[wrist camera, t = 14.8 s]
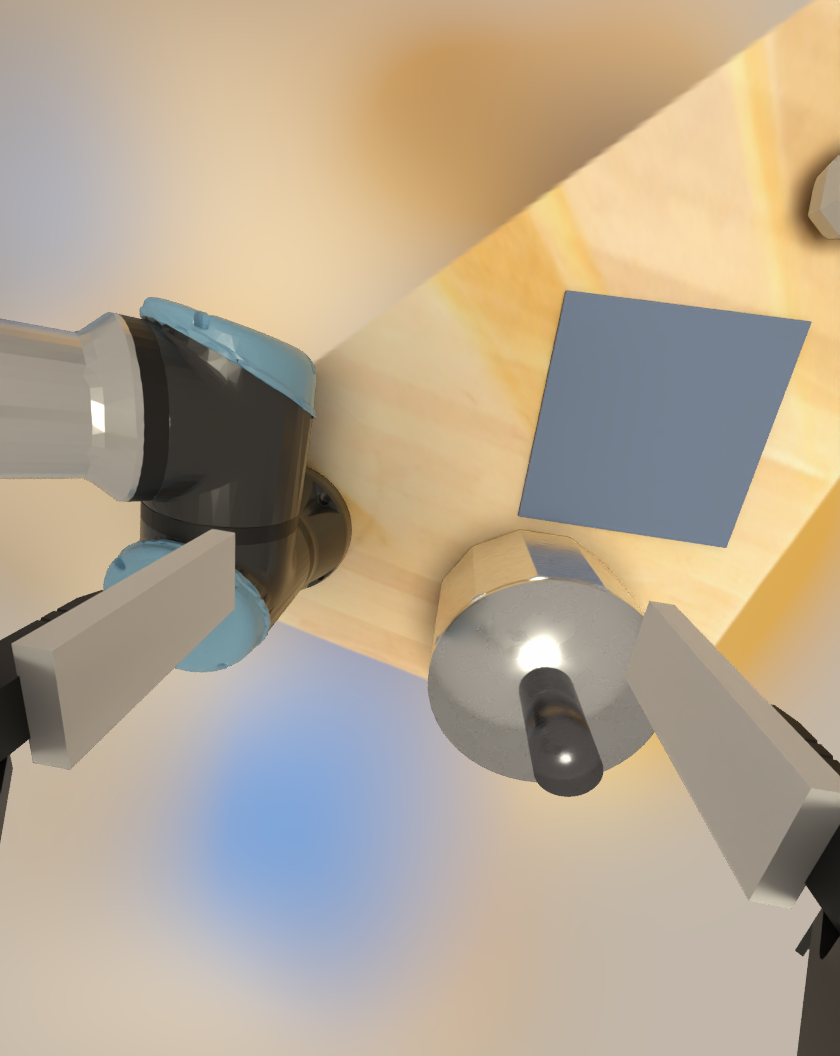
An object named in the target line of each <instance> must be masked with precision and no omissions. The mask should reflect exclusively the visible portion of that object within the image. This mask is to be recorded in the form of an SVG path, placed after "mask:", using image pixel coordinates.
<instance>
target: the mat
mask: <svg viewBox="0 0 840 1056" xmlns="http://www.w3.org/2000/svg"><path fill="white" fill-rule="evenodd" d="M810 325H811V322H810V321H802V320H794V319H786V318H779V317H771V316H763V315H755V314H747V313H739V312H732V311H724V310H716V309H708V308H700V307H692V306H685V305H677V304H669V303H661V302H653V301H646V300H638V299H630V298H622V297H614V296H606V295H599V294H591V293H583V292H575V291H566V292H565V296H564V301H563V305H562V310H561V315H560V319H559V324H558V329H557V334H556V338H555V343H554V348H553V353H552V357H551V362H550V367H549V371H548V376H547V381H546V386H545V390H544V395H543V400H542V404H541V409H540V414H539V419H538V423H537V428H536V433H535V438H534V442H533V447H532V452H531V456H530V461H529V466H528V471H527V475H526V480H525V485H524V490H523V494H522V499H521V504H520V508H519V513H518V516H520V517H526V518H533V519H539V520H546V521H553V522H559V523H566V524H572V525H579V526H585V527H592V528H599V529H605V530H612V531H618V532H625V533H631V534H638V535H645V536H651V537H658V538H664V539H671V540H677V541H684V542H691V543H697V544H704V545H710V546H717V547H723V548H726V547H727V545H728V542H729V539H730V537H731V534H732V531H733V529H734V526H735V523H736V521H737V518H738V516H739V513H740V510H741V508H742V505H743V502H744V500H745V497H746V494H747V492H748V489H749V486H750V484H751V481H752V478H753V476H754V473H755V471H756V468H757V465H758V463H759V460H760V457H761V455H762V452H763V449H764V447H765V444H766V441H767V439H768V436H769V433H770V431H771V428H772V426H773V423H774V420H775V418H776V415H777V412H778V410H779V407H780V404H781V402H782V399H783V396H784V394H785V391H786V388H787V386H788V383H789V381H790V378H791V375H792V373H793V370H794V367H795V365H796V362H797V359H798V357H799V354H800V351H801V349H802V346H803V343H804V341H805V338H806V336H807V333H808V330H809V328H810Z"/></svg>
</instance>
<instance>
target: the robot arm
mask: <svg viewBox="0 0 840 1056" xmlns="http://www.w3.org/2000/svg"><path fill="white" fill-rule="evenodd" d="M140 317H141V318H142V319H139V318H134V317H129V316H124V315H120V314H117V313H110V312H108V313H106V314H104V315H102V316H101V317H100V318H98V319H96V320H95V321H93V322H92V323H90V324H89V325H87V326H86V327H84V328H83V329H81V330H80V331H76V332H70V331H65V330H59V329H54V328H48V327H42V326H37V325H31V324H26V323H21V322H15V321H9V320H4V319H0V479H47V478H48V479H49V478H50V479H53V478H55V479H56V478H57V479H58V478H59V479H61V478H62V479H65V478H66V479H67V478H82V479H85V480H87V481H90V482H92V483H93V484H94V485H96V486H97V487H98V488H100V489H101V490H103V491H104V492H105V493H107V494H108V495H110V496H111V497H112V498H113V499H115V500H116V501H123V502H131V501H141V521H140V541H138V542H136V543H134V544H131V545H129V546H127V547H126V548H125V549H123V551H122V552H121V554H120V555H119V556H118V557H117V558H116V559H115V560H114V561H113V562H112V563H111V565H110V566H109V568H108V570H107V573H106V576H105V579H104V591H103V590H101V591H98V592H94V593H91V594H88V595H85V596H82V597H79V598H76V599H75V600H73V601H71V602H69V603H67V604H65V605H64V606H62V607H60V608H58V609H57V611H53V612H51V613H49V614H47V615H45V616H44V617H42V618H41V620H40V621H38V620H37V621H35V622H33V623H31V624H29V625H27V626H26V627H24V628H22V629H20V630H18V631H17V632H15V633H13V634H11V635H9V636H7V637H5V638H4V639H2V640H0V840H1V834H2V829H3V823H4V817H5V811H6V805H7V799H8V793H9V788H10V781H11V775H12V769H13V767H12V762H11V758H10V754H11V753H12V752H14V751H15V750H16V749H17V748H18V747H20V746H21V745H22V744H23V743H25V742H26V741H27V740H28V739H29V743H30V749H31V755H32V760H33V763H36V764H41V765H46V766H52V767H57V768H62V769H67V770H70V769H71V768H72V767H73V766H74V765H75V764H77V763H78V762H79V761H80V759H82V758H83V757H84V756H85V755H86V754H87V753H88V752H89V751H90V750H91V749H92V748H93V747H94V746H95V745H96V744H97V743H98V742H99V741H100V740H101V739H102V738H103V737H104V736H105V735H106V734H107V733H108V732H109V731H110V730H111V729H112V728H113V727H114V726H115V725H116V724H117V723H118V722H119V721H121V720H122V719H123V718H124V717H125V716H126V715H127V714H128V713H129V712H130V711H131V710H132V709H133V708H134V707H135V706H136V705H137V704H138V703H139V702H140V701H141V700H142V699H143V698H144V697H145V696H146V695H147V694H148V693H149V692H150V691H151V690H152V689H153V688H154V687H155V686H156V685H157V684H158V683H159V682H160V681H161V680H162V679H163V678H164V677H165V676H166V675H168V673H170V672H171V671H172V670H173V669H174V668H176V669H180V670H185V671H190V672H212V671H218V670H221V669H225V668H227V667H228V666H232V665H233V664H235V663H237V662H239V661H240V660H242V659H243V658H244V657H245V656H246V655H247V654H249V653H250V652H251V651H252V650H253V649H254V648H255V647H256V646H257V645H259V644H260V643H261V642H262V641H263V640H264V639H265V637H266V636H267V635H268V631H269V630H270V629H271V627H272V626H273V625H274V623H275V622H276V621H277V620H278V618H279V617H280V616H281V614H282V613H283V612H284V611H285V609H286V608H287V607H288V605H289V604H290V603H291V601H292V600H293V599H294V598H295V596H296V595H297V594H298V592H299V591H300V590H302V589H305V588H308V587H311V586H314V585H316V584H318V583H320V582H322V581H323V580H325V579H326V578H327V577H328V576H330V575H331V574H332V573H333V572H334V571H335V570H336V568H337V567H338V566H339V564H340V563H341V561H342V560H343V558H344V557H345V555H346V553H347V550H348V548H349V545H350V540H351V520H350V515H349V512H348V509H347V506H346V504H345V502H344V500H343V498H342V496H341V495H340V493H339V492H338V491H337V489H336V488H335V487H334V486H333V485H332V484H331V483H330V482H329V481H328V480H327V479H326V478H324V477H323V476H322V475H320V474H319V473H317V472H315V471H313V470H311V469H309V468H307V467H306V464H307V456H308V449H309V441H310V433H311V426H312V419H315V418H316V412H315V410H314V401H315V390H316V370H315V367H314V364H313V362H312V361H311V359H310V358H309V357H308V356H307V355H306V354H305V353H303V352H302V351H301V350H299V349H298V348H295V347H294V346H292V345H289V344H287V343H285V342H282V341H280V340H278V339H276V338H273V337H271V336H269V335H266V334H263V333H261V332H258V331H256V330H253V329H251V328H248V327H245V326H243V325H240V324H237V323H235V322H232V321H229V320H226V319H223V318H220V317H217V316H212V315H211V316H210V315H208V314H207V313H204V312H201V311H198V310H195V309H192V308H190V307H188V306H185V305H182V304H179V303H175V302H172V301H168V300H165V299H161V298H154V297H149V298H147V299H146V300H145V301H144V304H143V306H142V307H141V308H140ZM624 677H625V679H626V681H627V682H628V684H629V686H630V688H631V690H632V691H633V693H634V695H635V697H636V699H637V700H638V702H639V704H640V706H641V708H642V709H643V711H644V713H645V715H646V717H647V718H648V720H649V722H650V724H651V726H652V727H653V729H654V731H655V733H656V735H657V736H658V738H659V740H660V742H661V744H662V745H663V747H664V749H665V751H666V753H667V754H668V756H669V758H670V760H671V762H672V763H673V765H674V767H675V769H676V770H677V772H678V774H679V776H680V778H681V780H682V781H683V783H684V785H685V787H686V789H687V790H688V792H689V794H690V796H691V797H692V799H693V801H694V803H695V805H696V806H697V808H698V810H699V812H700V813H701V815H702V817H703V819H704V821H705V823H706V825H707V826H708V828H709V830H710V832H711V833H712V835H713V837H714V839H715V841H716V842H717V844H718V846H719V848H720V850H721V851H722V853H723V855H724V857H725V859H726V860H727V862H728V864H729V866H730V868H731V869H732V871H733V873H734V875H735V877H736V878H737V880H738V882H739V884H740V886H741V887H742V889H743V891H744V893H745V894H746V896H747V898H748V900H749V901H753V902H758V903H763V904H768V905H773V906H779V907H784V908H789V909H792V907H793V906H794V904H795V902H796V901H797V899H798V897H799V896H800V894H801V893H802V891H803V889H804V887H805V886H807V887H808V889H809V890H810V892H811V893H812V895H813V896H814V898H815V899H816V900H817V902H818V903H819V905H820V906H821V908H822V909H821V911H820V912H819V913H818V915H817V917H816V918H815V920H814V921H813V923H812V924H811V926H810V928H809V929H808V931H807V933H806V934H805V935H804V937H803V939H802V940H801V942H800V943H799V945H798V947H797V948H796V950H795V951H796V952H798V953H799V954H800V955H802V956H804V954H805V953H806V951H807V950H808V949H810V951H809V959H808V968H807V976H806V986H805V993H804V1001H803V1010H802V1018H801V1027H800V1036H799V1044H798V1052H797V1056H840V763H839V762H838V761H837V760H833V756H832V755H831V754H830V753H829V752H828V751H827V750H826V749H825V748H824V747H823V746H822V745H821V744H818V743H817V740H816V739H815V738H814V737H813V736H812V735H811V734H810V733H809V732H808V731H807V730H806V729H805V728H804V727H803V726H802V725H801V724H800V723H799V722H798V721H796V720H795V719H793V718H792V717H791V716H789V715H788V714H786V713H785V712H784V711H782V710H781V709H779V708H778V707H776V706H775V705H771V704H770V703H769V702H768V701H767V700H766V699H765V698H764V697H763V696H762V695H761V694H760V693H759V692H758V691H757V690H756V689H755V688H754V687H753V686H752V685H751V684H750V683H749V682H748V681H747V680H746V679H745V677H744V676H743V675H742V674H741V673H740V672H739V671H738V670H737V669H736V668H735V667H734V666H733V665H732V664H731V663H730V662H729V661H728V660H727V659H726V658H725V657H724V656H723V655H722V654H721V653H720V652H719V651H718V650H717V649H716V647H715V646H714V645H713V644H712V643H711V642H710V641H709V640H708V639H707V638H706V637H705V636H704V635H703V634H702V633H701V632H700V631H699V630H698V629H697V628H696V627H695V626H694V625H693V624H692V623H691V622H690V621H689V620H688V618H687V617H686V616H685V615H684V614H683V613H682V612H681V611H680V610H679V609H678V608H677V607H676V606H675V605H671V604H664V603H658V602H652V601H649V604H648V606H647V609H646V612H645V615H644V618H643V621H642V624H641V627H640V630H639V633H638V636H637V639H636V642H635V645H634V648H633V651H632V654H631V657H630V659H629V662H628V665H627V668H626V671H625V674H624Z"/></svg>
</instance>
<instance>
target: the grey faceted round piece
mask: <svg viewBox="0 0 840 1056" xmlns="http://www.w3.org/2000/svg"><path fill="white" fill-rule="evenodd" d="M808 217H809V218H810V220H811V221H812V222H813V224H814V225H815V226H816V228H817V229H818V230H819V232H820V233H821V234H822V235H823V236H824V237H826V238H827V239H839V238H840V154H839V155H838V156H837V157H836V158H835V159H834V160H833V161H832V162H831V163H830V164H829V165H828V166H827V167H826V168H825V169H824V170H823V172H822V173H821V174H820V175H819V176H818V177H817V178H816V181H815V184H814V187H813V191H812V196H811V202H810V207H809V212H808Z"/></svg>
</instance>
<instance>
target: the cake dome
mask: <svg viewBox="0 0 840 1056" xmlns="http://www.w3.org/2000/svg"><path fill="white" fill-rule="evenodd" d="M644 615H645V613H644V612H643V611H642V610H641V608H640V607H639V606H638V605H637V603H636V602H635V601H634V600H633V598H632V597H631V596H630V595H629V593H628V592H627V591H626V590H625V588H624V587H623V586H622V585H621V583H620V582H619V581H618V580H617V578H616V577H615V576H614V575H613V573H612V572H611V571H610V570H609V568H608V567H607V566H605V565H604V564H603V563H602V562H600V561H599V560H598V559H597V558H595V557H594V556H593V555H592V554H590V553H589V552H588V551H587V550H585V549H584V548H583V547H582V546H580V545H579V544H578V543H577V542H575V541H574V540H573V539H572V538H570V537H565V536H558V535H552V534H545V533H539V532H532V531H526V530H517V531H515V532H512V533H509V534H506V535H503V536H500V537H497V538H494V539H492V540H489V541H486V542H483V543H480V544H477V545H474V546H472V547H471V549H470V550H469V551H468V552H467V553H466V554H465V555H464V556H463V558H462V559H461V560H460V561H459V562H458V563H457V564H456V565H455V567H454V568H453V569H452V570H451V571H450V572H449V573H448V574H447V576H446V577H445V578H444V579H443V580H442V584H441V590H440V597H439V603H438V609H437V615H436V621H435V629H434V638H433V647H432V655H431V661H430V665H429V675H428V693H429V699H430V704H431V708H432V711H433V713H434V716H435V719H436V721H437V723H438V724H439V726H440V728H441V730H442V731H443V733H444V734H445V735H446V737H447V738H448V739H449V740H450V742H451V743H452V744H453V745H454V746H455V747H456V748H457V749H458V750H459V751H460V752H461V753H463V754H464V755H465V756H467V757H468V758H469V759H471V760H472V761H474V762H475V763H477V764H479V765H480V766H482V767H484V768H486V769H488V770H490V771H492V772H495V773H498V774H500V775H503V776H506V777H510V778H514V779H519V780H523V781H531V782H537V783H538V784H539V785H540V786H541V787H542V788H543V789H545V790H546V791H548V792H550V793H552V794H555V795H558V796H565V797H566V796H567V797H571V796H578V795H582V794H585V793H587V792H589V791H590V790H592V789H593V788H595V787H596V786H597V785H598V783H599V782H600V780H601V778H602V775H603V771H606V770H608V769H610V768H612V767H614V766H616V765H618V764H620V763H621V762H623V761H624V760H626V759H627V758H628V757H630V756H632V755H633V754H634V753H635V752H636V751H638V750H639V749H640V748H641V747H642V746H643V745H644V744H645V743H646V742H647V741H648V739H649V738H650V737H651V736H652V735H653V733H654V732H655V731H654V729H653V727H652V726H651V724H650V722H649V720H648V718H647V717H646V715H645V713H644V711H643V709H642V708H641V706H640V704H639V702H638V700H637V699H636V697H635V695H634V693H633V691H632V690H631V688H630V686H629V684H628V682H627V681H626V679H625V677H624V674H625V671H626V668H627V665H628V662H629V659H630V657H631V654H632V651H633V648H634V645H635V642H636V639H637V636H638V633H639V630H640V627H641V624H642V621H643V618H644Z"/></svg>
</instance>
